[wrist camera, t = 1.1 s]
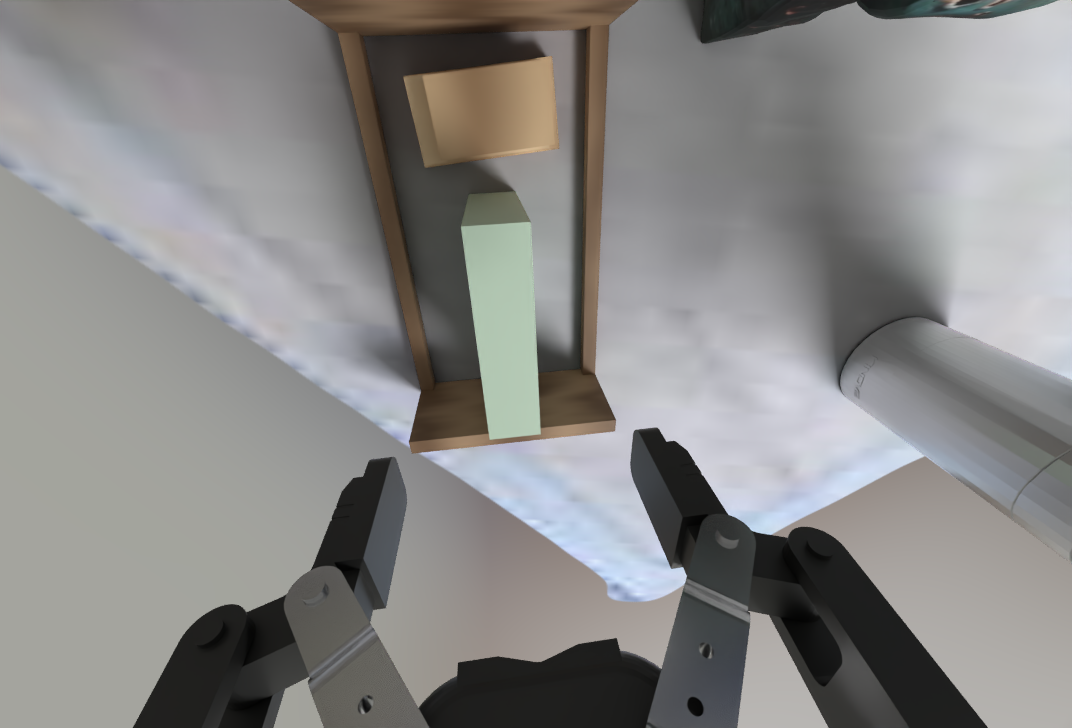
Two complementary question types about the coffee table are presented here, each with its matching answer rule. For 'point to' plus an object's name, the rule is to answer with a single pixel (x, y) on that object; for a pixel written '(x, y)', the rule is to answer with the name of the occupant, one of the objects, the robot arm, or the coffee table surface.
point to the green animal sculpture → (767, 3)
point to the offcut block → (484, 111)
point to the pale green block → (503, 310)
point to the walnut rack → (446, 407)
